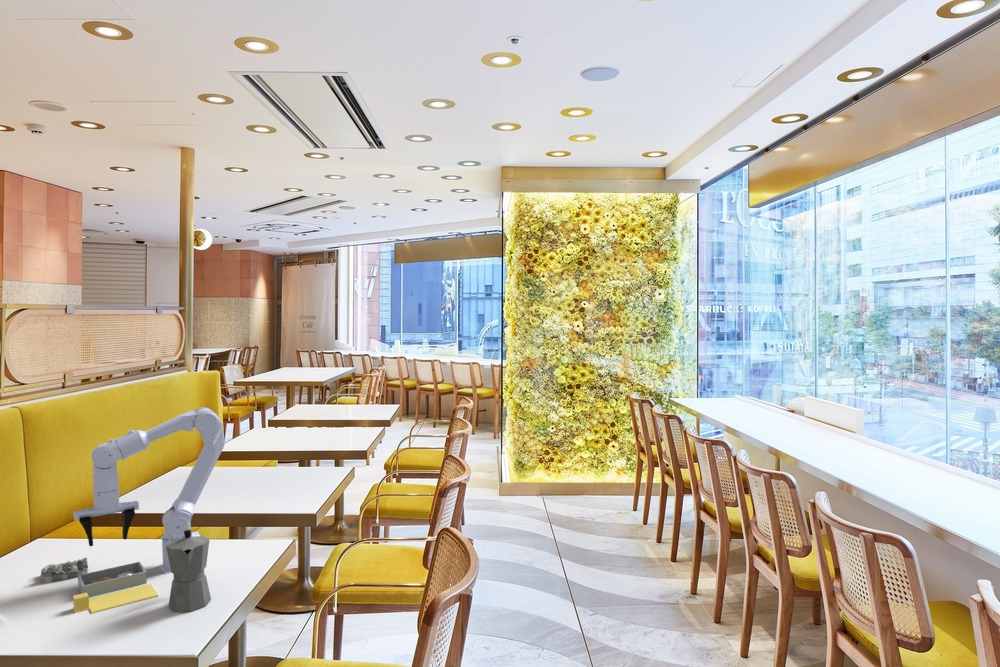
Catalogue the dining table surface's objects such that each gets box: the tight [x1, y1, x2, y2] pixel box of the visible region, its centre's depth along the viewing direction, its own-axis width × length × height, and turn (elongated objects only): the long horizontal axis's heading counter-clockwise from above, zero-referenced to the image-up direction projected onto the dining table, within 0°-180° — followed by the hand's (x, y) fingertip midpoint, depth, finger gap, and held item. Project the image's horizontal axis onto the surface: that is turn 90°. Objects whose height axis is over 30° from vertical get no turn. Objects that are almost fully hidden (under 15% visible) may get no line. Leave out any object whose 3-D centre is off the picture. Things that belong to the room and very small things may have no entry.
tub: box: [77, 561, 148, 598], centre depth 170 cm, size 14×9×4 cm, turn 128°
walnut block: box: [90, 576, 112, 584], centre depth 168 cm, size 4×3×2 cm
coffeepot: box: [166, 529, 212, 613], centre depth 159 cm, size 15×9×18 cm, turn 25°
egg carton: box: [40, 557, 89, 584], centre depth 177 cm, size 11×8×4 cm
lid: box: [72, 583, 159, 614], centre depth 161 cm, size 17×9×4 cm, turn 129°
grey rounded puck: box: [118, 571, 134, 577], centre depth 172 cm, size 4×4×2 cm
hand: (108, 541), depth 173 cm, fingers open, 7 cm apart
